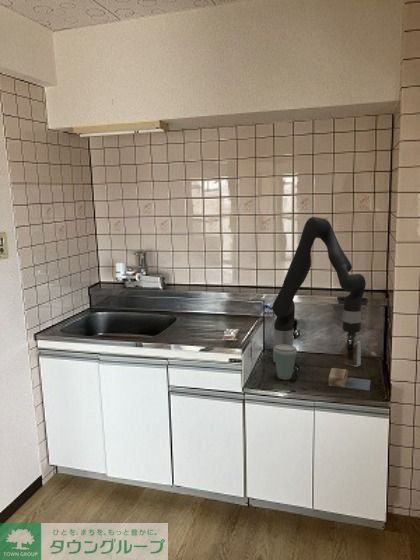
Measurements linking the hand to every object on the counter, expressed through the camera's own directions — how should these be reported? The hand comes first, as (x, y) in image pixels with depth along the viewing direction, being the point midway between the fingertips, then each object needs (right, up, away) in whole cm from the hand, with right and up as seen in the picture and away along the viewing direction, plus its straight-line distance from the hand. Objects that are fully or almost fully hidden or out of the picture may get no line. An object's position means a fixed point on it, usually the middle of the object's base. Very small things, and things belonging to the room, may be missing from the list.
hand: (350, 357), depth 202 cm
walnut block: (0, -3, +1) cm, 3 cm away
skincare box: (+8, -8, +23) cm, 26 cm away
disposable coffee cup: (-27, -11, +11) cm, 31 cm away
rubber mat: (+3, -12, +1) cm, 12 cm away
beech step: (-4, -12, +4) cm, 13 cm away
